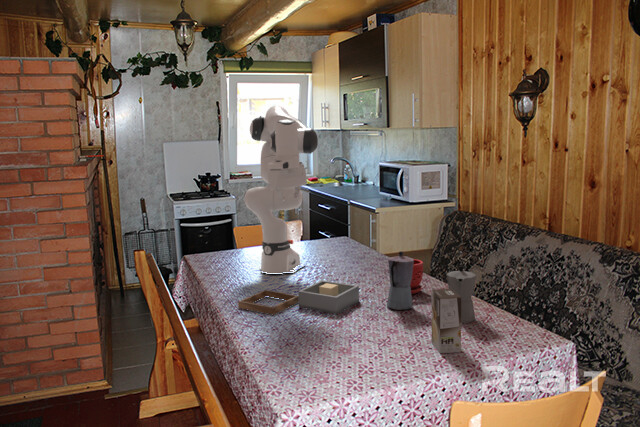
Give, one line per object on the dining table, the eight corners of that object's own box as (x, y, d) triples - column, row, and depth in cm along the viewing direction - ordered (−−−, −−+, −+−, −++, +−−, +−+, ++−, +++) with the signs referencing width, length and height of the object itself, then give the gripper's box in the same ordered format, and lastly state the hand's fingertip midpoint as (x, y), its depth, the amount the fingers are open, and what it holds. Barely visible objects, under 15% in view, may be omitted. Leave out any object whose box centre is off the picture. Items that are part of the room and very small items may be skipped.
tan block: (326, 298, 200) (326, 283, 199) (338, 300, 197) (338, 284, 196) (319, 302, 196) (319, 286, 195) (331, 304, 193) (331, 288, 192)
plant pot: (429, 290, 210) (429, 260, 209) (410, 298, 201) (410, 267, 199) (401, 284, 219) (401, 255, 217) (382, 292, 210) (382, 262, 208)
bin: (322, 295, 207) (322, 280, 206) (359, 301, 199) (358, 285, 198) (298, 307, 194) (298, 291, 193) (336, 314, 185) (336, 297, 185)
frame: (265, 296, 208) (265, 289, 208) (299, 302, 200) (299, 295, 199) (238, 308, 195) (238, 301, 195) (273, 315, 186) (273, 308, 186)
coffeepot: (474, 326, 171) (475, 271, 168) (444, 324, 173) (444, 269, 171) (476, 310, 185) (477, 260, 182) (448, 308, 188) (448, 258, 185)
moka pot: (418, 302, 196) (418, 248, 193) (407, 315, 182) (407, 258, 179) (393, 299, 200) (393, 246, 197) (380, 312, 186) (379, 256, 183)
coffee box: (461, 352, 151) (462, 297, 149) (439, 353, 151) (440, 298, 148) (451, 340, 160) (451, 288, 158) (430, 341, 160) (430, 289, 157)
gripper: (296, 161, 214) (298, 196, 216) (264, 164, 197) (266, 202, 199) (310, 161, 211) (311, 196, 213) (278, 165, 194) (280, 203, 196)
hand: (289, 199), depth 206 cm, fingers open, 8 cm apart
